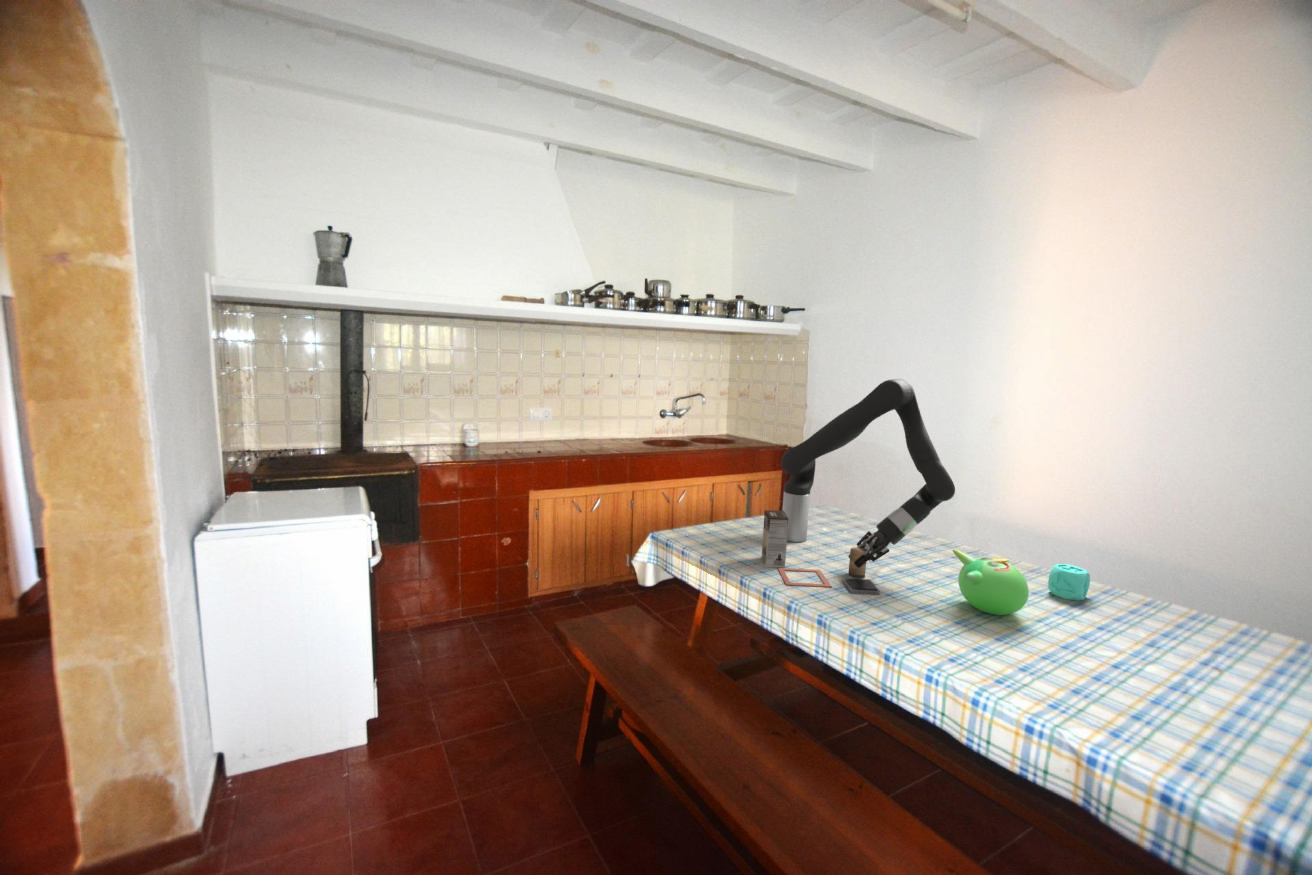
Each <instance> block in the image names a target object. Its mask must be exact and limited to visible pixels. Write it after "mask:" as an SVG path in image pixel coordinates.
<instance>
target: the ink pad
mask: <svg viewBox="0 0 1312 875" xmlns="http://www.w3.org/2000/svg"><path fill="white" fill-rule="evenodd" d="M842 583H843V585H844V586H845V587H846V589H847V590H848V591H849V593H850V594H863V595H864V594H865V595H880V594H881V590H880V589H879V588H878V587H877V586H876V584H874V582H872V580H871V579H865V578H842Z"/></svg>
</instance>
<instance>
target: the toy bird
mask: <svg viewBox="0 0 1312 875" xmlns="http://www.w3.org/2000/svg"><path fill="white" fill-rule="evenodd" d="M952 552H953V554H954V555H955V557H956V558H957V559H958V560H959V561H960V562H961V564H963V565H962V567H961V568H960V570H959V574H958V578H957V580H958V587H959V590H960V593H961V594H962V596H963V597H964V599H965V600H966V601H967V603H969V604H970V605H971V606H972V607H974V608H976V609H977V610H979V611H981V612H984V613H988V614H990V615H999V616H1002V615H1004V616H1006V615H1010V614H1011V615H1012V614H1014V613H1017V612H1019V611H1020V610H1021V609H1023V607H1024V606H1025V605H1026V604H1027V602H1028V601H1029V600H1028V599H1029V593H1030V592H1029V585H1028V581H1027V580H1026V578H1025V576H1024V575H1023V573H1022V572H1021V571H1020V570H1019V569H1018V568H1017V567H1016V566H1014V565H1013V564H1011V563H1010V561H1011V559H1008V558H995V557H994V558H993V557H977V558H974V557H972V556H970V555H968V554H967V553H964V552H962V551H960V550H958V549H953V550H952Z"/></svg>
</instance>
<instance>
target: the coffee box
mask: <svg viewBox="0 0 1312 875" xmlns="http://www.w3.org/2000/svg"><path fill="white" fill-rule="evenodd" d="M763 515H764V517H763V528H762V532H763V533H762V542H761V544H762V546H761V558H762V561H763V564H764V565H765V567H767V568H786V556H787V545H788V541H787V535H788V522H789V518H788V517H787V515H786V514H785V512H784V511H783V510H771V509H770V510H766V509H764V514H763Z"/></svg>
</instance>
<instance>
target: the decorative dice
mask: <svg viewBox="0 0 1312 875" xmlns="http://www.w3.org/2000/svg"><path fill="white" fill-rule="evenodd" d="M1047 580H1048V581H1047V582H1048V583H1047V587H1048V590H1049V591H1050V593H1051V594H1052V595H1053V596H1056V597H1058V598H1061V599H1064V600H1069V601H1076V602H1077V601H1083V600H1085V599H1086V598H1087V595H1088V593H1089V592H1088V591H1089V589H1090V582H1091V576H1090V573H1089V572H1088V571H1087V570H1086V569H1085V568H1082V567H1080V566H1077V565H1072V564H1067V563H1066V564H1065V563H1057V564H1055V565H1053V566H1052V568H1051V570H1050V573H1049V575H1048V579H1047Z"/></svg>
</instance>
